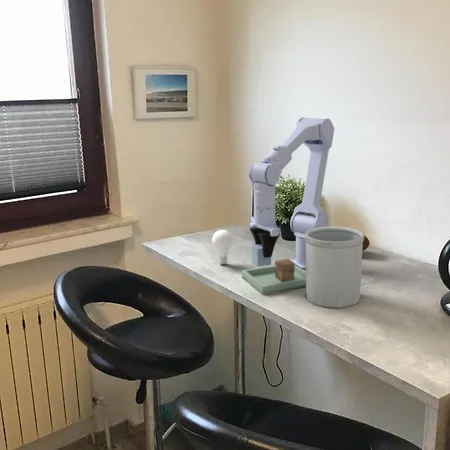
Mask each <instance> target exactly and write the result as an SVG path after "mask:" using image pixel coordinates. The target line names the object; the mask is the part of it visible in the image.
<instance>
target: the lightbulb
mask: <svg viewBox="0 0 450 450" xmlns="http://www.w3.org/2000/svg"><path fill="white" fill-rule="evenodd" d="M211 242H212V245H213V247H214V248H215V250H216V252H217V255H218V264H220V265H222V266H223V265H226V264H227V263H228V255H229V250H230V249H231V247H232V245H233V243H234V237H233V235H232V233H231V232H229V230H226V229H219V230H217V231H216V232H214V233H213V235H212V238H211Z"/></svg>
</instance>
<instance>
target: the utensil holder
mask: <svg viewBox="0 0 450 450" xmlns="http://www.w3.org/2000/svg"><path fill="white" fill-rule="evenodd" d="M364 235H365V234H364V232H362V231H361V230H359V229H355V228H352V227H348V226H347V227H345V226H327V227H319V228H314V229H310V230H308V231H306V232H305V240H306V268H305V272H306V287H305V288H306V289H305V291H306V299H307V300H308V301H309V302H310V303H312V304H314V305H317V306H320V307H324V308H332V309H333V308H335V309H337V308H339V309H340V308H347V307H351V306H354V305H355V304H357V303H358V302H360V298H361V296H360V295H361V285H362V267H363V266H362V264H363V262H362V261H363V251H362V248H363V241H364Z"/></svg>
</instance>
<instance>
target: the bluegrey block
mask: <svg viewBox="0 0 450 450" xmlns="http://www.w3.org/2000/svg"><path fill="white" fill-rule="evenodd" d="M251 263H252V264H254V265H255V266H256V267H257V268H260V267H267V266H272V257H267V258H265V257H264V256H263V249H262V244H257V245H255V244H252V245H251Z"/></svg>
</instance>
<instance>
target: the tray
mask: <svg viewBox="0 0 450 450" xmlns="http://www.w3.org/2000/svg"><path fill="white" fill-rule="evenodd" d="M241 278H242V279H243V280H244V281H245V282H247V283H248V284H249V285H250V286H251V287H253V288H254V289H255V290H256V292H258V293H259V294H261V295H268V294H276V293H280V292H286V291H292V290H297V289H305V288H306V270H304V269H302V268H300V267H299V266H297V265H296V264H294V280H290V281H284V282H281V281H280V280H278V279H277V278H275V265H267V266H260V267H257V268H249V269H243V270H242V269H241Z"/></svg>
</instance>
